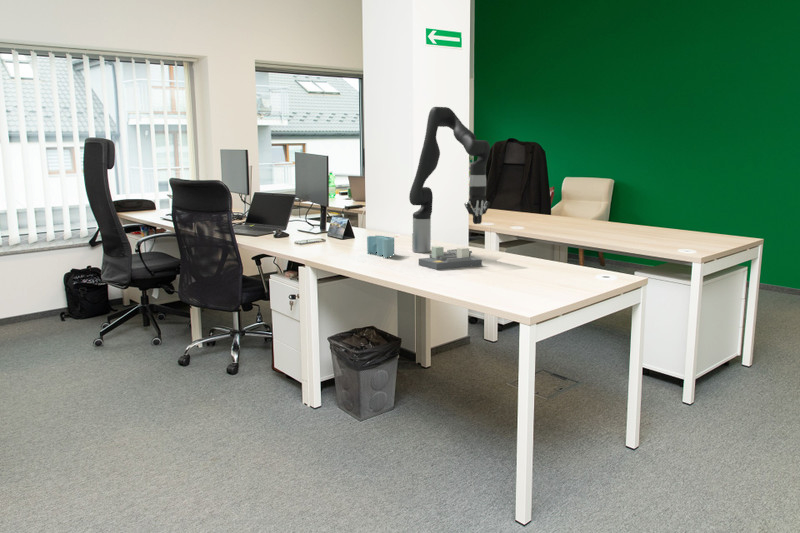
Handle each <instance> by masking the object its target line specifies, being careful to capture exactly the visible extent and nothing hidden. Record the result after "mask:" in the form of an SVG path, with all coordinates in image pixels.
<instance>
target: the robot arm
mask: <svg viewBox="0 0 800 533" xmlns="http://www.w3.org/2000/svg"><path fill="white" fill-rule="evenodd" d="M439 127H440V128H444V127H445V128H450V129H451V130H452V131H453V136H454V138H455V139H456V141H458V142H459V143H460V144H461V145H462V146H463V148H464V150H465V152H466V153H467V154H468V155H469V156H471V157H477V159H476V160H475V161H472V162H470V166H469V169H470V171H469V184H468V186H469V189H468V190H469V192H468V195H469V199H468V201H467V202H465V203H464V206H465V209H466V210H467V212H468V214H469V215H471V216H472V222H473V224H474V225H480V224H482V221H483V218H482V217H483V215H486V214H487V211H488V210H489V207H490V206H491V202H490V201H487V164H488V162H489V161H488V160H489V157H490V153H491V145H490V143H489V141H488V140H483V139H477V136H476V134H474V133H473V132H472V130H471V129H469V128H468V127H467V126H465V125H464V124H463V123H462V121H461V120H460V118H459V117H458V116H457V114H456V113H455V112H454V110H452V109H451V108H450V107H446V106H433V107H432V108H431V109H430V110H429V113H428V116H427V123H426V130H425V136H424V141H423V145H422V149H421V152H420V156H419V161H418V166H417V169H416V174H415V176H414V179H413V183H412V185H411V188H410V191H409V197H408V199H409V202H410V204H411V205H412V206H420V208H419V209H418V210H417V211H415V212H413V213H412V233H411V237H412V238H411V239H412V241H411V242H412V244H411V247H412V248H411V250H412V253H419V254H422V253H424V254H425V253H432V246H431V245H432V244H431V240H432V237H431V232H432V231H431V228H432V225H431V224H432V220H431V219H432V213H433V202H434V201H433V199H434V198H433V191H432V188H430V187H429V186H424V185H425V183H426V182H427V179H428V178H429V177H430V176H431V175H432V174H433V173H434V171H435V170H436V169H437V166H438V164H439V160H440V155H441V151H440V150H441V149H440V147H439V144H438V141H437V134H438V130H439Z"/></svg>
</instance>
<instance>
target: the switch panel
mask: <svg viewBox="0 0 800 533" xmlns="http://www.w3.org/2000/svg"><path fill="white" fill-rule="evenodd" d="M431 257H432V253H431V254H429V257H425V258H424V257H423V258H418V266H420V267H425V268H428V269H431V270H433V271H434V270H435V271H441V270H443V271H445V270H452V269H453V270H454V269H463V268H464V269H465V268H473V267H482V266H483V259H482V258H478V257H477V258H476V257H473V256H470V257H461V258H457V255H454V254H453V253H448V252H446V253H445V252H444V255H443V256H436V259H435V258H431Z"/></svg>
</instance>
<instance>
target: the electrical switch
mask: <svg viewBox="0 0 800 533" xmlns="http://www.w3.org/2000/svg"><path fill="white" fill-rule="evenodd" d="M446 253H453V255H457V248H456V249H447V250H446ZM472 254H473V251H472V250H469V257H472V256H471V255H472Z"/></svg>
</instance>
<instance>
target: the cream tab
mask: <svg viewBox="0 0 800 533" xmlns="http://www.w3.org/2000/svg"><path fill="white" fill-rule="evenodd" d="M456 249H457V258H461V257H469V251H470V248H469V247H465V246H464V247H456Z"/></svg>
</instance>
